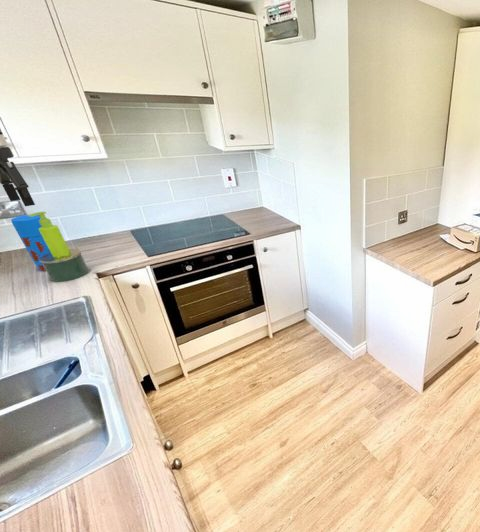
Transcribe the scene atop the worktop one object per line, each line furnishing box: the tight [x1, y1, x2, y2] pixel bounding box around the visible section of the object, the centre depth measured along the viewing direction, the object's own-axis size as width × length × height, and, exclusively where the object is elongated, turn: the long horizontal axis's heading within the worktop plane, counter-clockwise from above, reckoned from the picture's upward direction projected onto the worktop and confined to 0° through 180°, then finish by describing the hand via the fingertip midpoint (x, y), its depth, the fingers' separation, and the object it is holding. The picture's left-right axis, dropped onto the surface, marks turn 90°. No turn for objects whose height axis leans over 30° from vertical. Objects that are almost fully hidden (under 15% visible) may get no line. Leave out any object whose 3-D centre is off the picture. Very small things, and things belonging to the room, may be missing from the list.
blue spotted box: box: [10, 214, 51, 272], centre depth 152 cm, size 11×11×25 cm
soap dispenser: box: [27, 211, 70, 257], centre depth 141 cm, size 6×7×20 cm
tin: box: [39, 248, 90, 283], centre depth 148 cm, size 14×14×10 cm
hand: (22, 202), depth 129 cm, fingers open, 13 cm apart
